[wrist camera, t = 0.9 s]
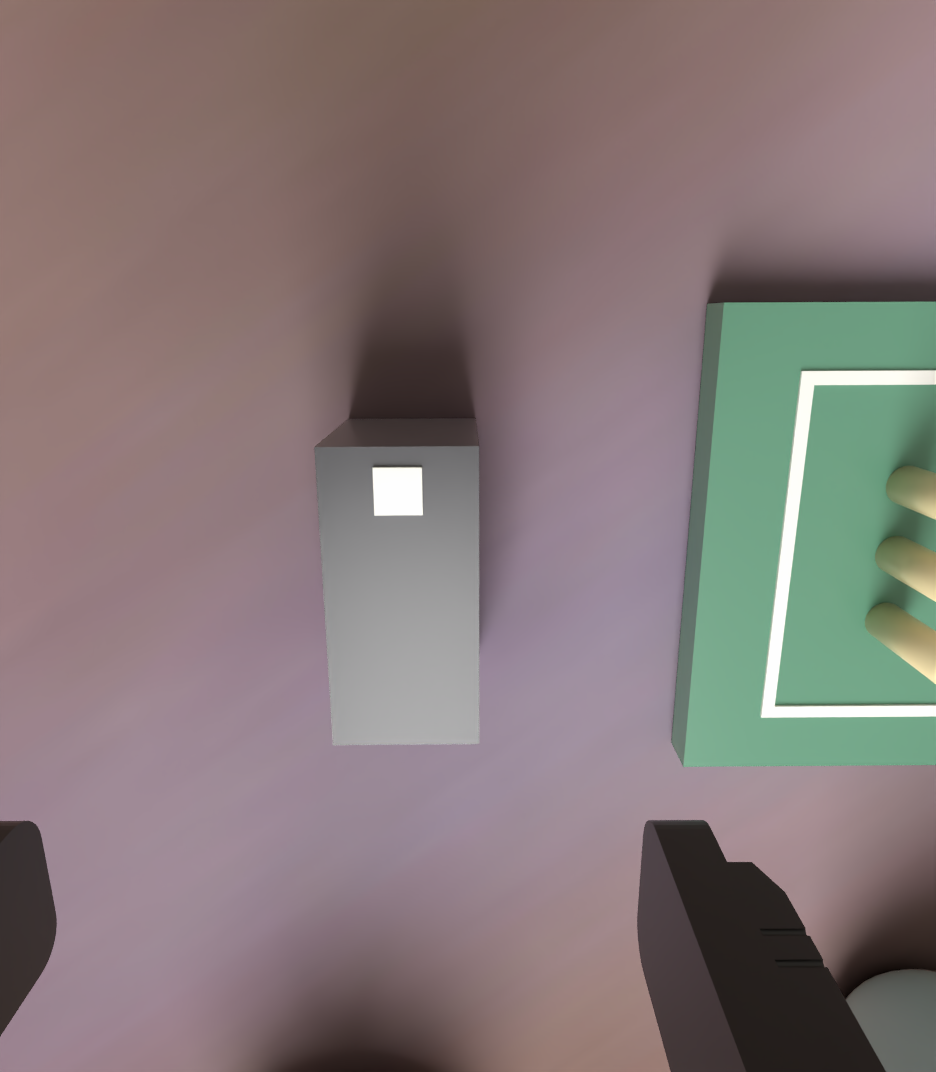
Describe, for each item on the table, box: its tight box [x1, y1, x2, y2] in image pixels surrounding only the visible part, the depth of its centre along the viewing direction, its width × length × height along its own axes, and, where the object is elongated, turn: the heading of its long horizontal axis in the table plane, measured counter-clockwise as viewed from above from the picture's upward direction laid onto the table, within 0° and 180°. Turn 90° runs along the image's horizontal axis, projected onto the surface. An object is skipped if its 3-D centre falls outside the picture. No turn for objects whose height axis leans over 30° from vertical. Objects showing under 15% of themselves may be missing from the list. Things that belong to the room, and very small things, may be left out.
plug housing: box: [314, 418, 479, 745], centre depth 22 cm, size 8×4×6 cm, turn 0°
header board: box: [671, 302, 936, 767], centre depth 22 cm, size 15×12×5 cm
